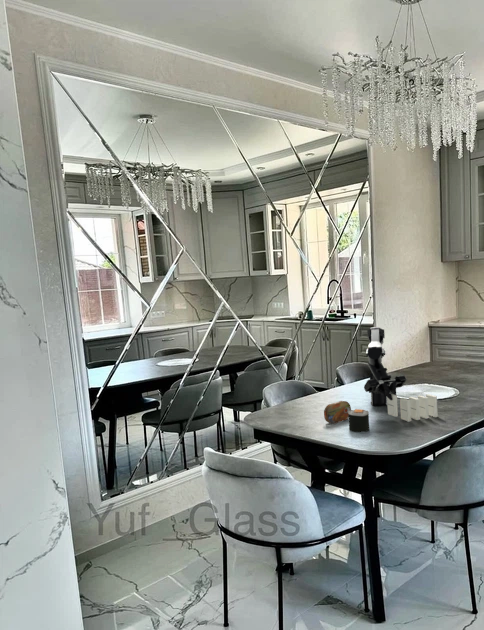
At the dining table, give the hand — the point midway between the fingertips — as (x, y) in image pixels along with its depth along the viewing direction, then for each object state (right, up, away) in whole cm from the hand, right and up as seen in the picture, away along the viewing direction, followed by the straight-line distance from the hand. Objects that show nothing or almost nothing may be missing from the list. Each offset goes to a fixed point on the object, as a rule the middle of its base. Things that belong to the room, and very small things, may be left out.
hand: (393, 399), depth 207 cm
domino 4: (+14, -8, +4) cm, 17 cm away
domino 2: (+6, -9, +1) cm, 11 cm away
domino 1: (0, -7, +2) cm, 7 cm away
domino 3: (+10, -9, +2) cm, 13 cm away
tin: (-23, -11, +6) cm, 26 cm away
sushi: (-17, -11, -8) cm, 22 cm away
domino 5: (+19, -8, +5) cm, 21 cm away
